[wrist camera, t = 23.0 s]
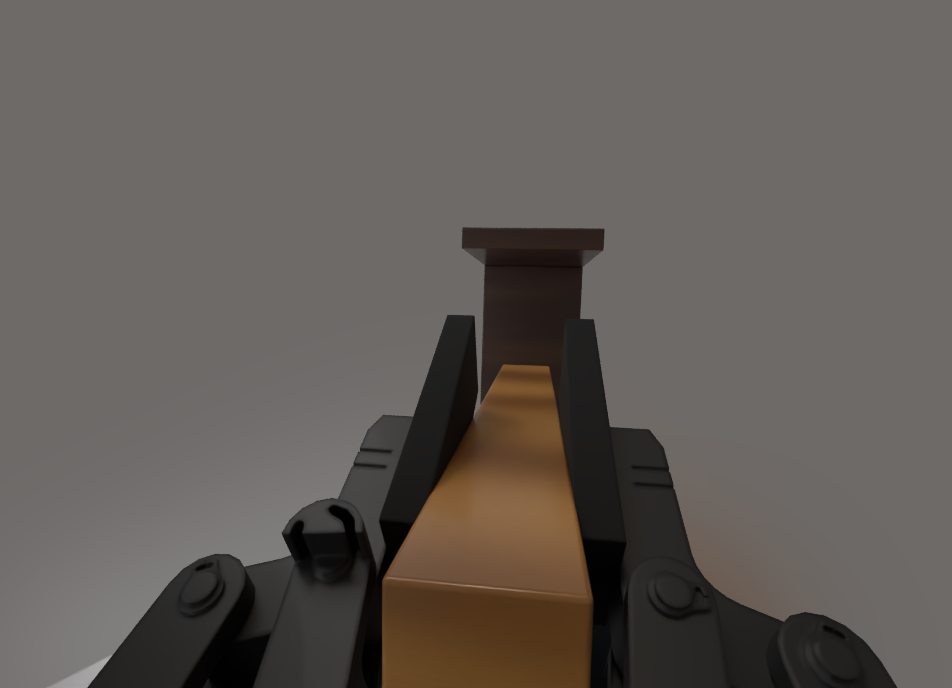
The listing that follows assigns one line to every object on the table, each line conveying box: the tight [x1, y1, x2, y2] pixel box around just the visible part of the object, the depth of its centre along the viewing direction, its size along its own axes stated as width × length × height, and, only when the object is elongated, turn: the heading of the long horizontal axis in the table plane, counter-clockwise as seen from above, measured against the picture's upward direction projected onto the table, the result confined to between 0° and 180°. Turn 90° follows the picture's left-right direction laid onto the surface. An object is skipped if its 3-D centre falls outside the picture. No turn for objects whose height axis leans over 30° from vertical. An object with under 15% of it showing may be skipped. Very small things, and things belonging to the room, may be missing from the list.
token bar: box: [382, 365, 594, 688], centre depth 15 cm, size 20×2×2 cm, turn 173°
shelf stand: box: [462, 227, 604, 421], centre depth 35 cm, size 15×10×28 cm, turn 173°
